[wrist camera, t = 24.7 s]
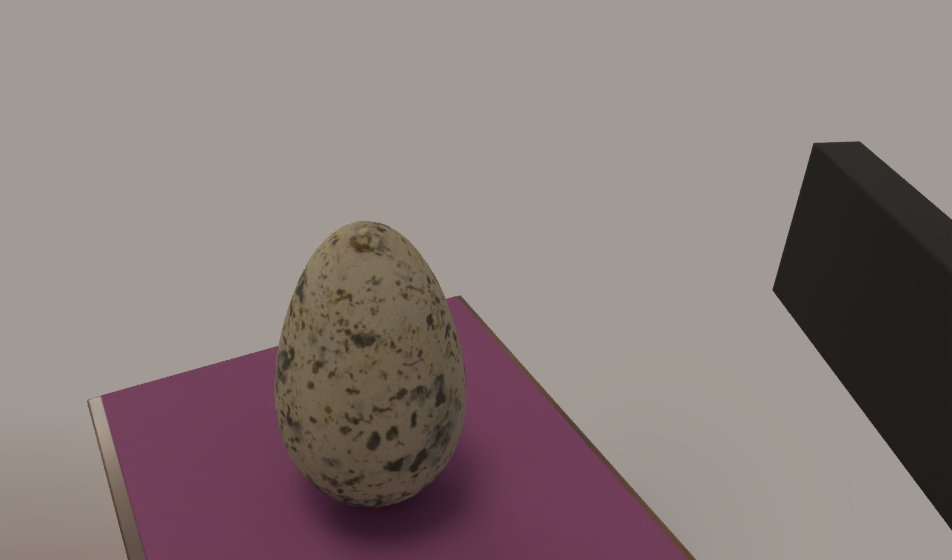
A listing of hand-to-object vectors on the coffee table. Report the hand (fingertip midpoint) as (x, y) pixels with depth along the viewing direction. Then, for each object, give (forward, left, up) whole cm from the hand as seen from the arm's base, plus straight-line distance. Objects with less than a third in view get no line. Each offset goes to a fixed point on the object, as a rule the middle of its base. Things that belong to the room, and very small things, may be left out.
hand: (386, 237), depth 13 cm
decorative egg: (+9, -3, -16) cm, 19 cm away
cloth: (+9, -3, -16) cm, 19 cm away
